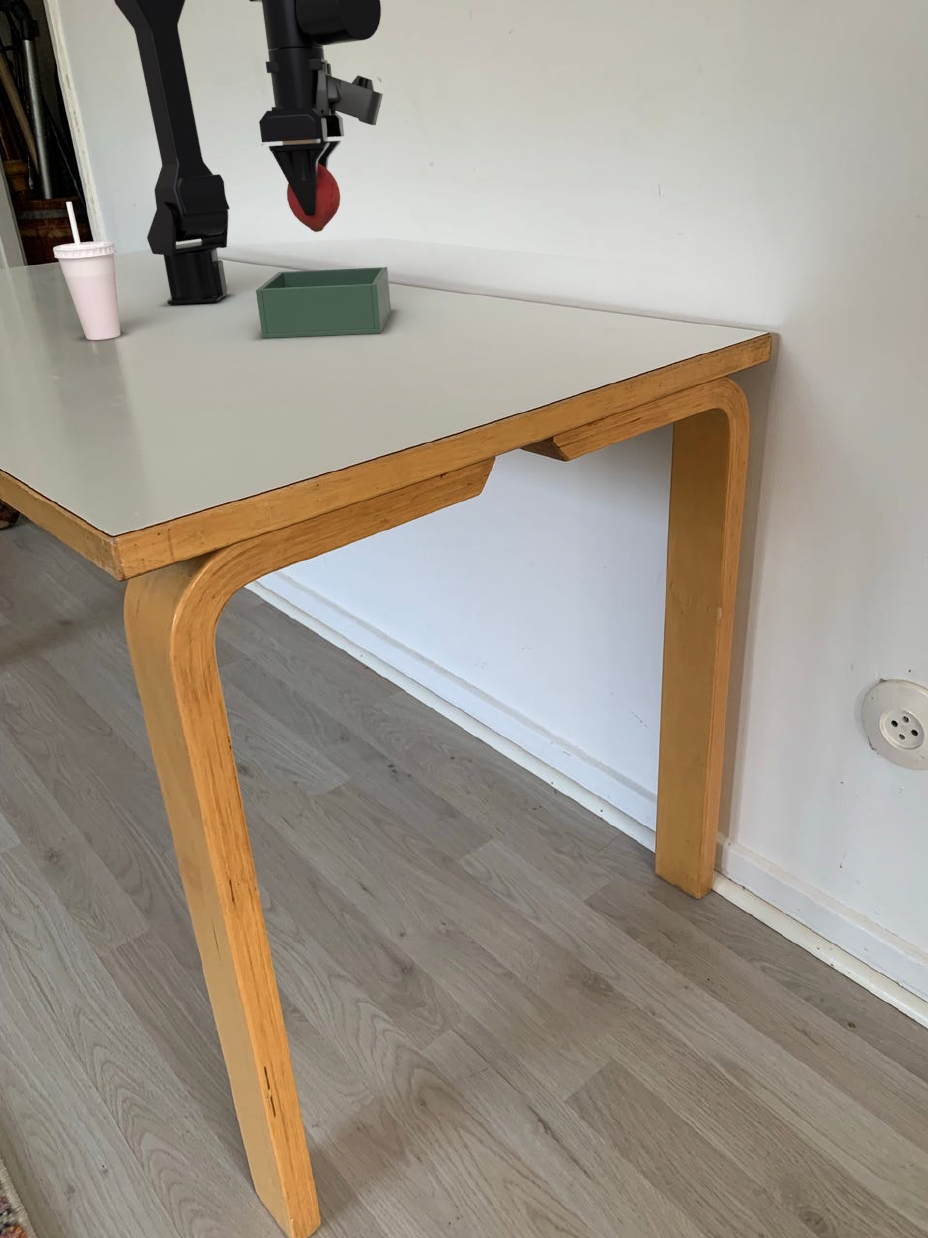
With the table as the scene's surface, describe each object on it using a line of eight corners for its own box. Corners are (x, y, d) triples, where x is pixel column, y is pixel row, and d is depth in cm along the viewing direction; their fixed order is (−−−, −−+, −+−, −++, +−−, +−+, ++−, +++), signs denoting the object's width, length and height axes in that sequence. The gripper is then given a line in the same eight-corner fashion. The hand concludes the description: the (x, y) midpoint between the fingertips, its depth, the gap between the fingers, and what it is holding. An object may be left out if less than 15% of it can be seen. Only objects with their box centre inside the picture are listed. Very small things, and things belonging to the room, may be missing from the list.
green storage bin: (262, 338, 103) (255, 289, 100) (284, 315, 114) (278, 271, 112) (380, 333, 102) (376, 284, 100) (390, 311, 113) (387, 266, 111)
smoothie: (70, 335, 109) (39, 202, 102) (127, 327, 111) (100, 197, 105) (77, 344, 104) (45, 205, 97) (137, 336, 106) (110, 200, 100)
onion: (346, 232, 105) (338, 151, 101) (294, 236, 104) (283, 154, 100) (340, 227, 110) (332, 150, 106) (289, 231, 109) (280, 153, 105)
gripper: (364, 38, 90) (379, 216, 97) (380, 50, 107) (392, 202, 114) (247, 45, 91) (271, 222, 98) (282, 56, 107) (300, 207, 114)
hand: (314, 212), depth 106 cm, fingers closed on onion, 6 cm apart
